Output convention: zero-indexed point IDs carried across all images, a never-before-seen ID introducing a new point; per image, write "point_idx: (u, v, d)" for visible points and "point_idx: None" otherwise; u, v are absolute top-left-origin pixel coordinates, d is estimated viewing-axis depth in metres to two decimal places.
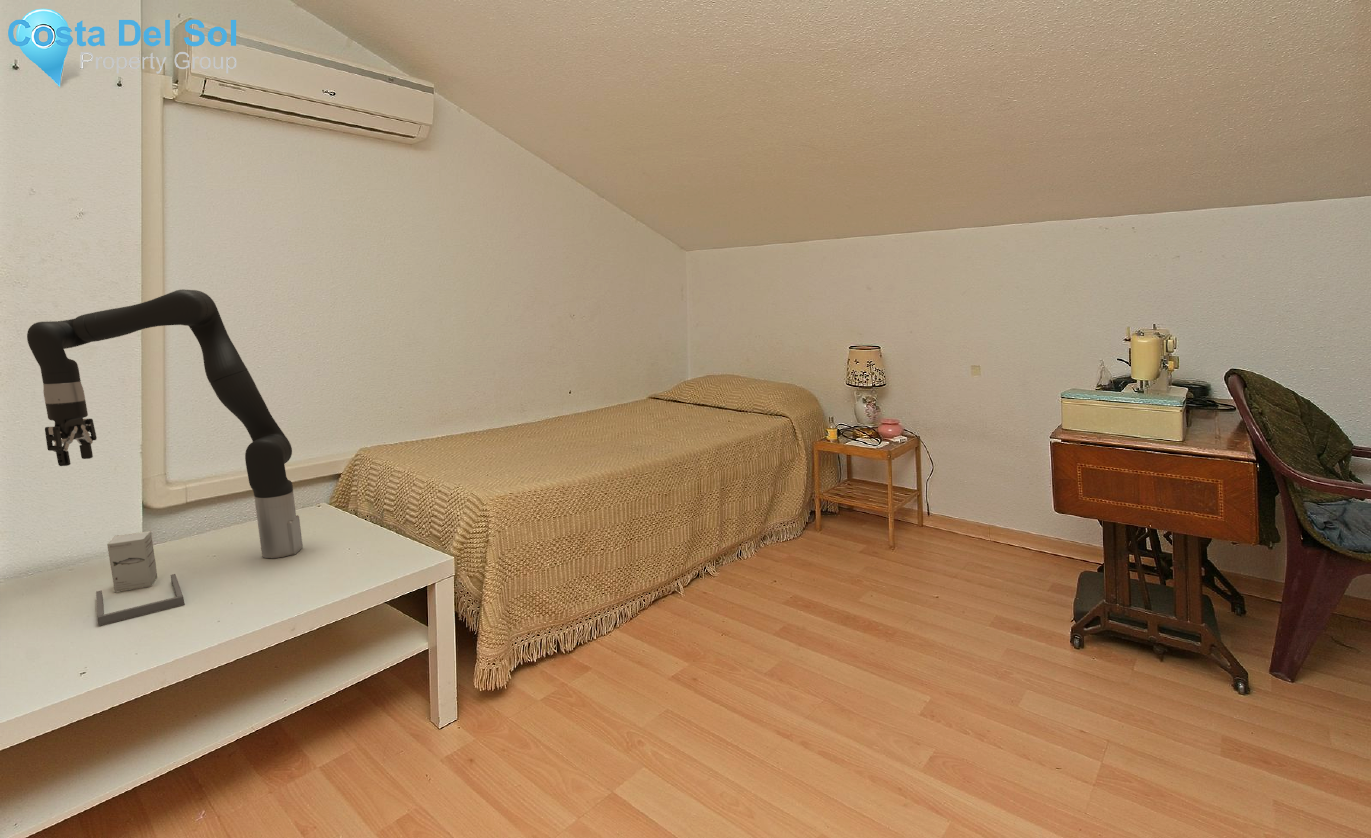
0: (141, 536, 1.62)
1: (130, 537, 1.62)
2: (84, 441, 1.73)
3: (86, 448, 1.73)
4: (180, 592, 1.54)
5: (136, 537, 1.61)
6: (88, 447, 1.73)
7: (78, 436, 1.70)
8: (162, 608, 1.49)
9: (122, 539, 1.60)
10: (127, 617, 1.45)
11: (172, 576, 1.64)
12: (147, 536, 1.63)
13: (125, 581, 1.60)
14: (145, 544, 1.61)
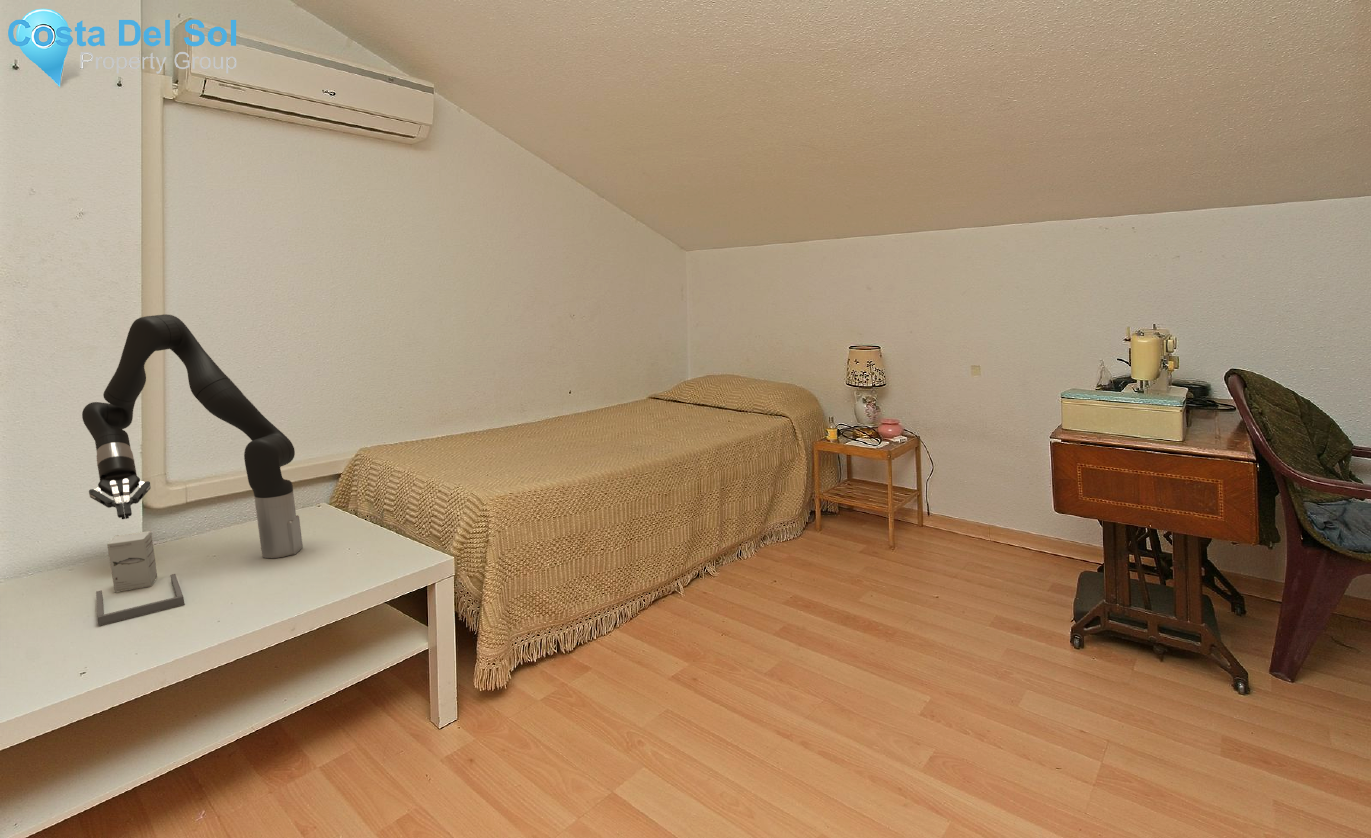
0: (141, 536, 1.62)
1: (130, 537, 1.62)
2: None
3: None
4: (180, 592, 1.54)
5: (137, 537, 1.61)
6: (123, 505, 1.70)
7: None
8: (162, 608, 1.49)
9: (122, 539, 1.60)
10: (127, 617, 1.45)
11: (172, 576, 1.64)
12: (147, 536, 1.63)
13: (125, 581, 1.60)
14: (145, 544, 1.61)
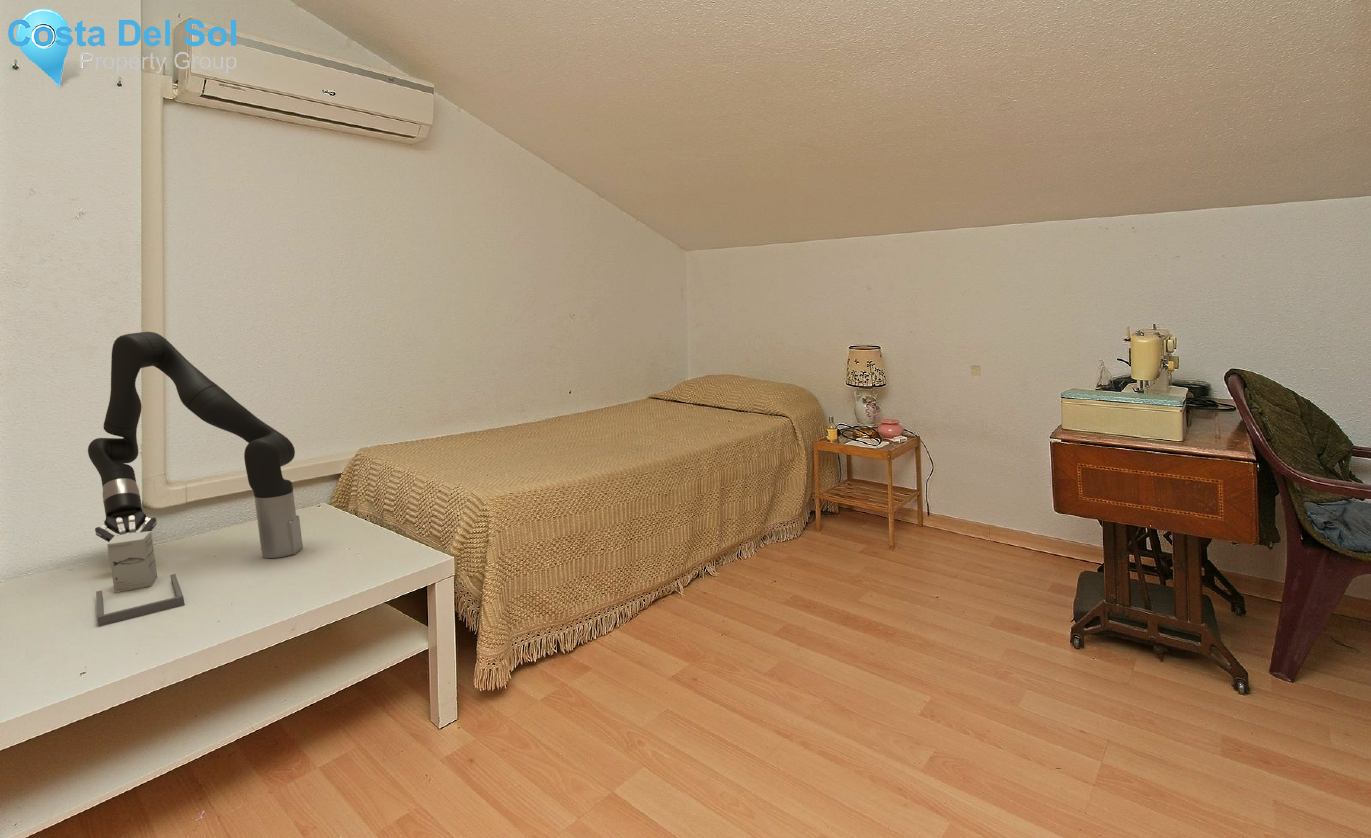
0: (141, 536, 1.62)
1: (130, 537, 1.62)
2: None
3: None
4: (180, 592, 1.54)
5: (136, 537, 1.61)
6: None
7: None
8: (162, 608, 1.49)
9: (122, 539, 1.60)
10: (127, 617, 1.45)
11: (172, 576, 1.64)
12: (147, 536, 1.63)
13: (125, 581, 1.60)
14: (145, 544, 1.61)
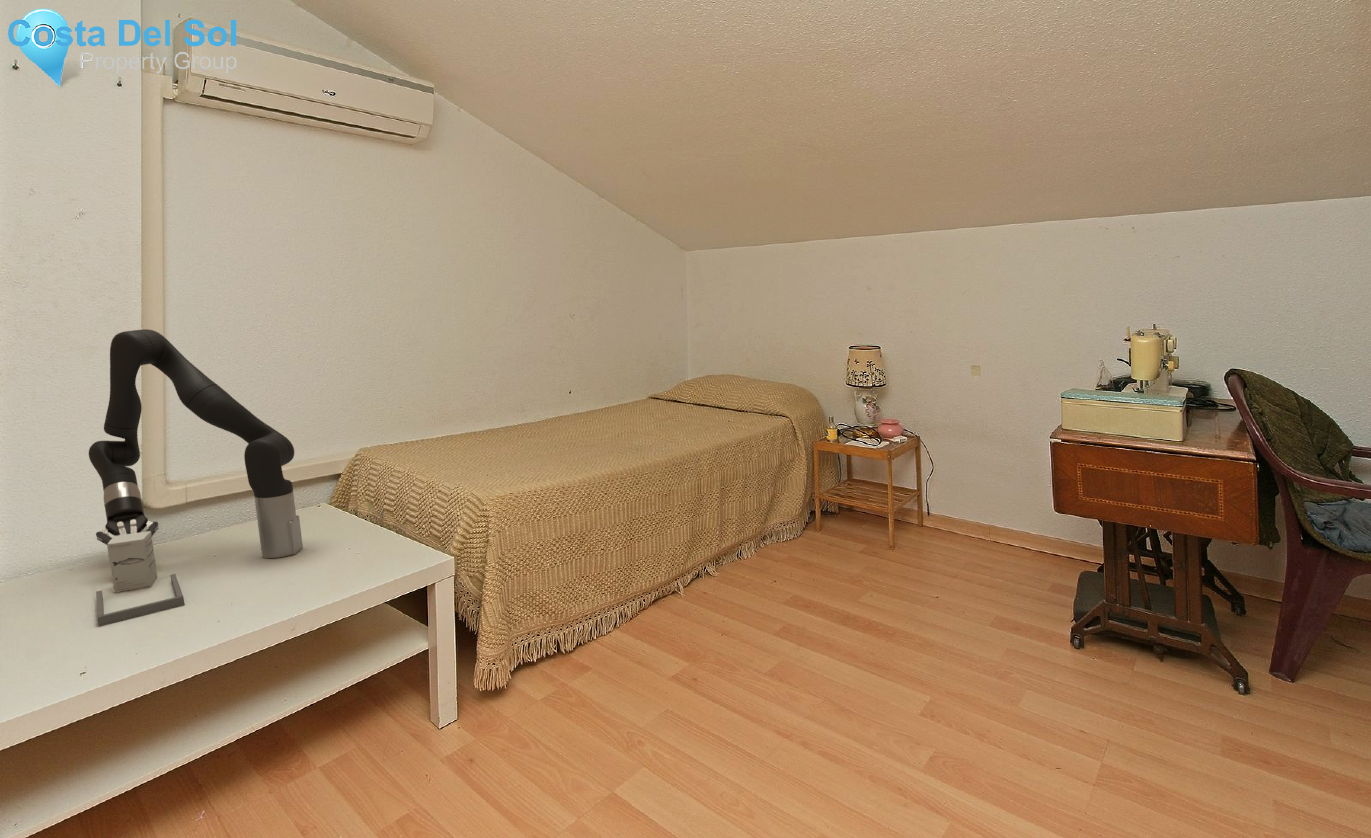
0: (141, 536, 1.62)
1: (130, 537, 1.61)
2: None
3: None
4: (180, 592, 1.54)
5: (136, 537, 1.61)
6: None
7: None
8: (162, 608, 1.49)
9: (122, 539, 1.60)
10: (127, 617, 1.45)
11: (172, 576, 1.64)
12: (147, 536, 1.63)
13: (125, 581, 1.60)
14: (145, 544, 1.61)
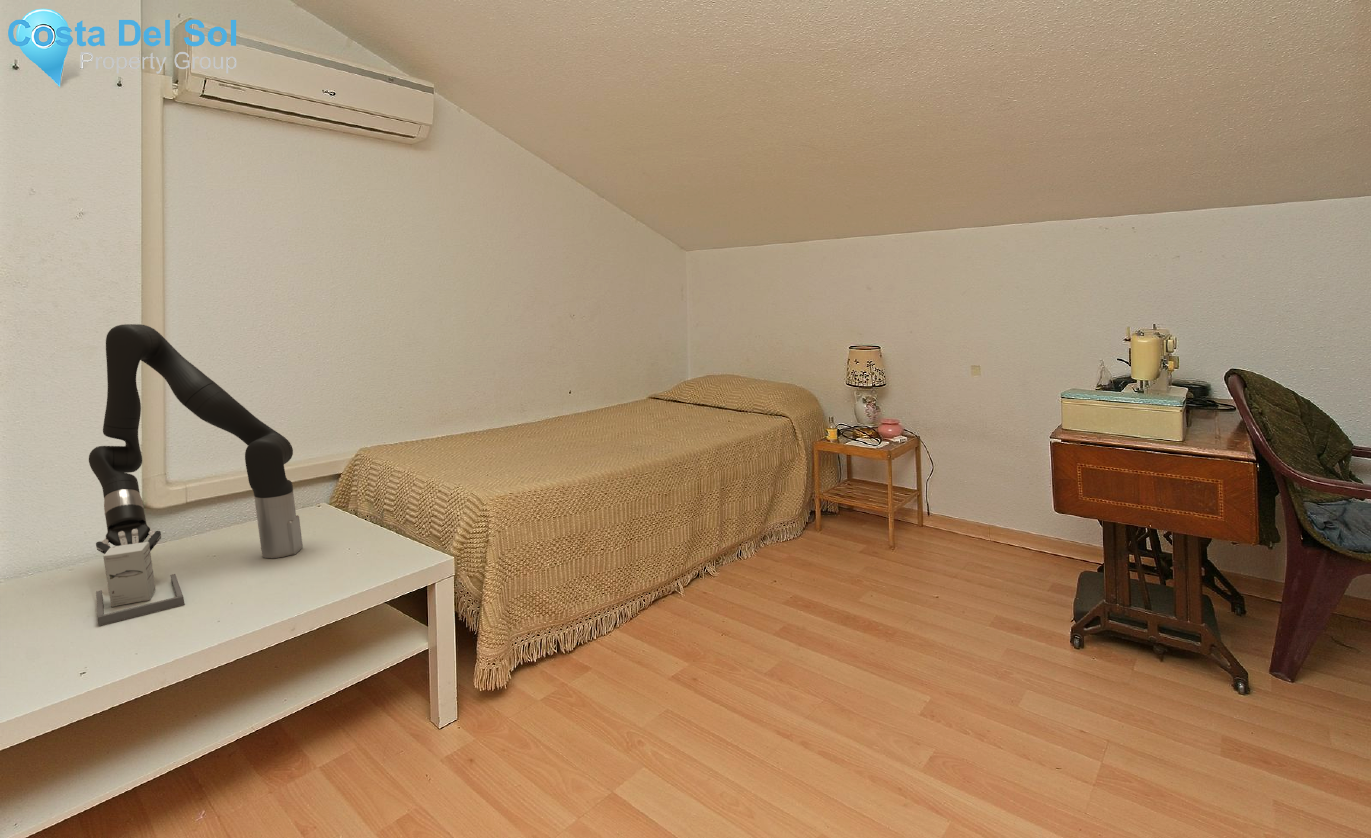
0: (139, 547, 1.54)
1: (128, 548, 1.54)
2: None
3: None
4: (180, 592, 1.54)
5: (134, 548, 1.53)
6: None
7: None
8: (162, 608, 1.49)
9: (119, 551, 1.52)
10: (127, 617, 1.45)
11: (172, 576, 1.64)
12: (145, 547, 1.55)
13: (122, 594, 1.52)
14: (143, 556, 1.53)
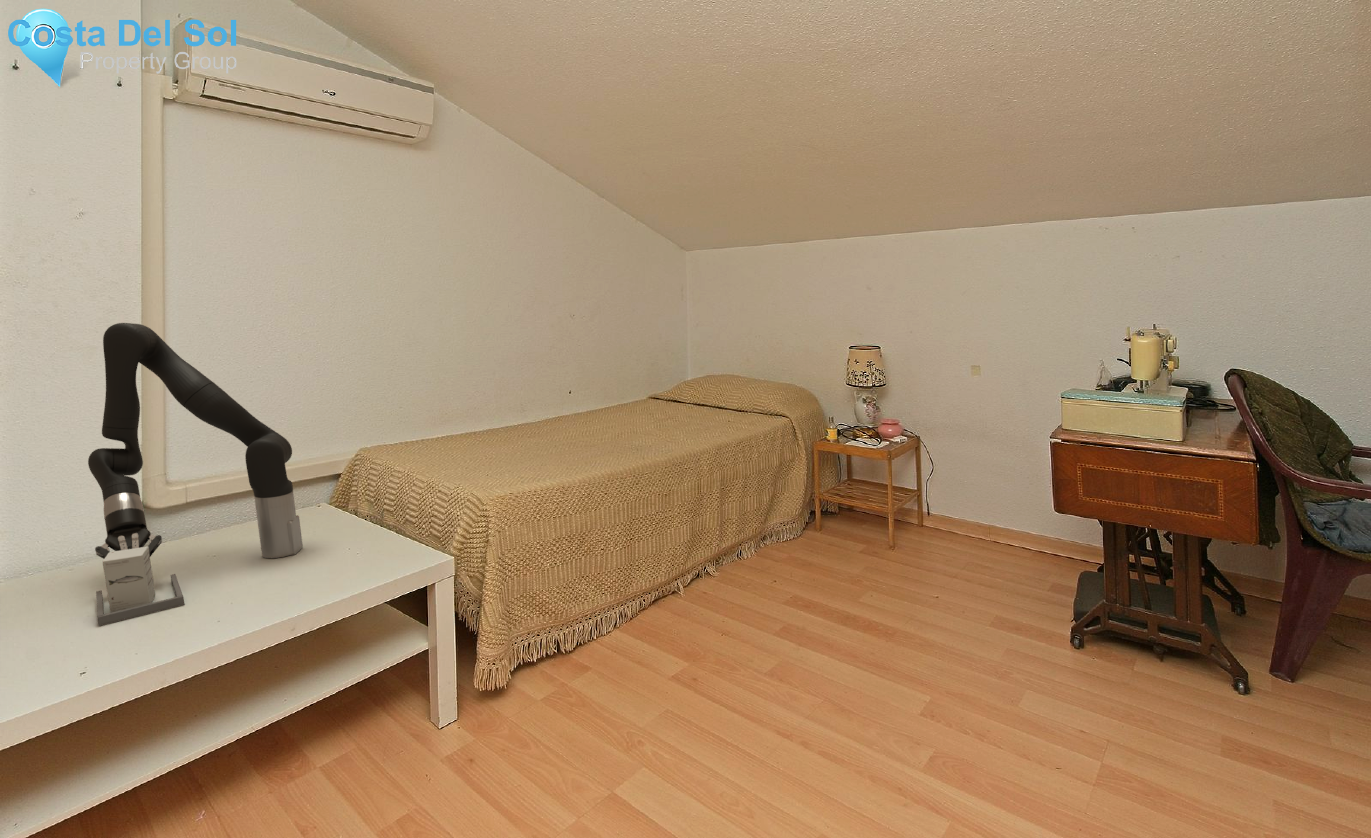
0: (138, 552, 1.51)
1: (127, 553, 1.50)
2: None
3: None
4: (180, 592, 1.54)
5: (134, 553, 1.50)
6: None
7: None
8: (162, 608, 1.49)
9: (118, 556, 1.49)
10: (127, 617, 1.45)
11: (172, 576, 1.64)
12: (145, 552, 1.52)
13: (122, 601, 1.49)
14: (143, 561, 1.50)
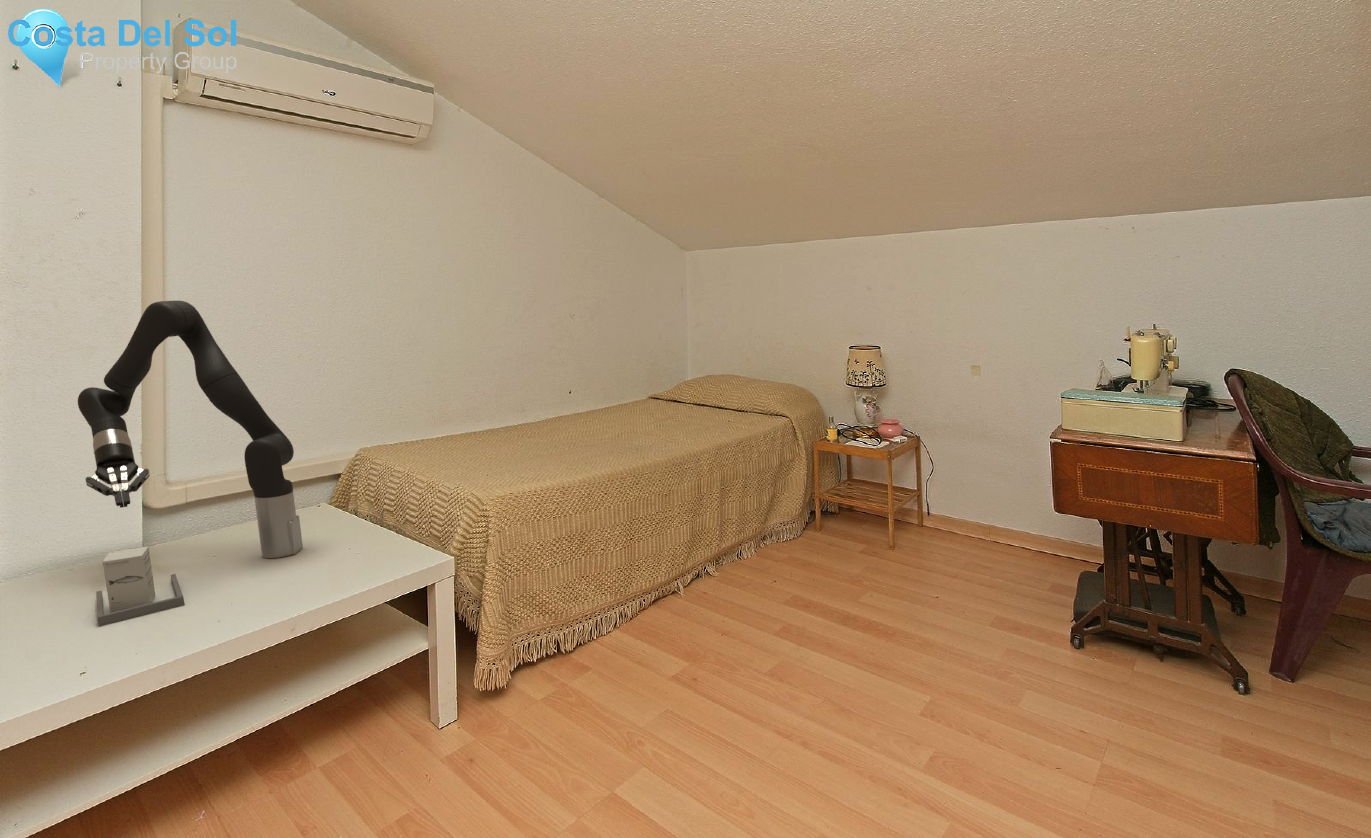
0: (139, 552, 1.51)
1: (127, 553, 1.50)
2: None
3: None
4: (180, 592, 1.54)
5: (134, 554, 1.50)
6: None
7: None
8: (162, 608, 1.49)
9: (118, 556, 1.49)
10: (127, 617, 1.45)
11: (172, 576, 1.64)
12: (145, 552, 1.52)
13: (122, 601, 1.49)
14: (143, 561, 1.50)
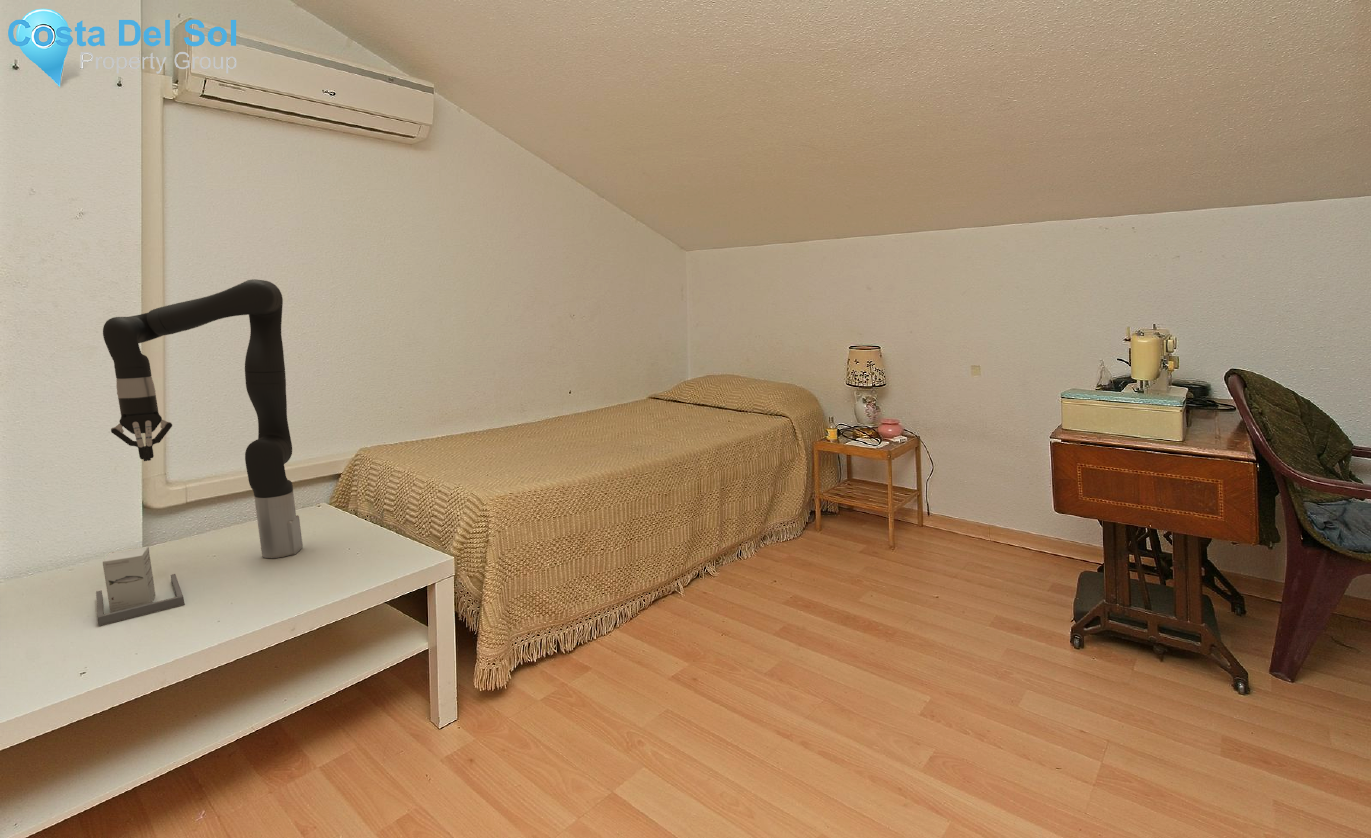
0: (139, 552, 1.51)
1: (127, 553, 1.50)
2: (146, 443, 1.71)
3: None
4: (180, 592, 1.54)
5: (134, 554, 1.50)
6: (145, 449, 1.71)
7: None
8: (162, 608, 1.49)
9: (118, 556, 1.49)
10: (127, 617, 1.45)
11: (172, 576, 1.64)
12: (145, 552, 1.52)
13: (122, 601, 1.49)
14: (143, 561, 1.50)
